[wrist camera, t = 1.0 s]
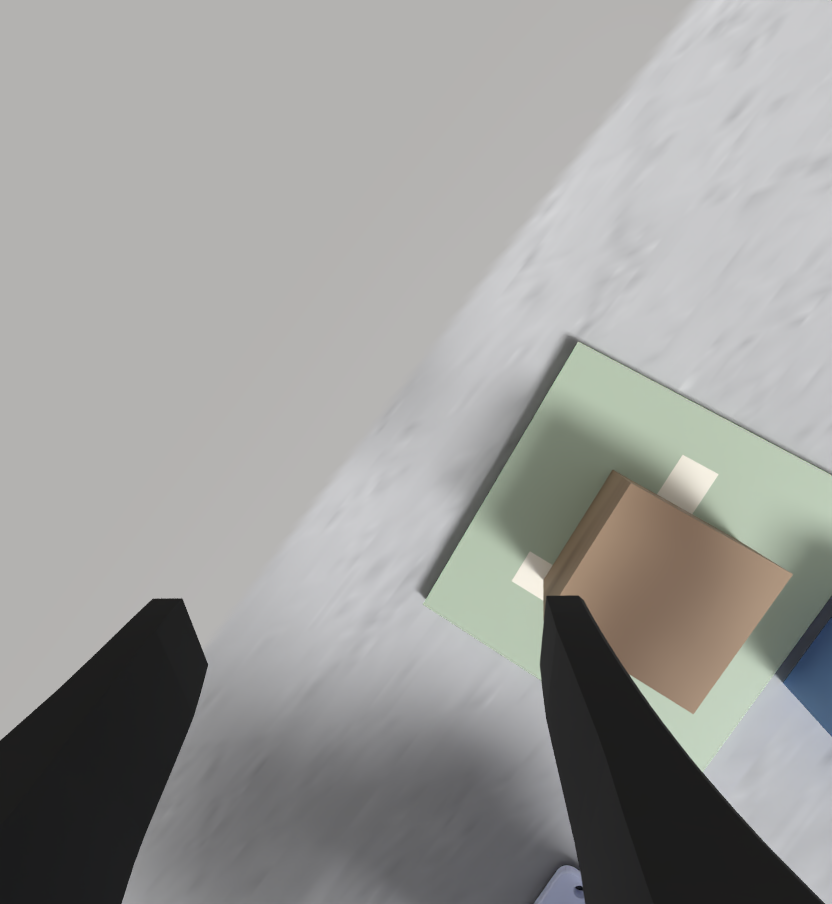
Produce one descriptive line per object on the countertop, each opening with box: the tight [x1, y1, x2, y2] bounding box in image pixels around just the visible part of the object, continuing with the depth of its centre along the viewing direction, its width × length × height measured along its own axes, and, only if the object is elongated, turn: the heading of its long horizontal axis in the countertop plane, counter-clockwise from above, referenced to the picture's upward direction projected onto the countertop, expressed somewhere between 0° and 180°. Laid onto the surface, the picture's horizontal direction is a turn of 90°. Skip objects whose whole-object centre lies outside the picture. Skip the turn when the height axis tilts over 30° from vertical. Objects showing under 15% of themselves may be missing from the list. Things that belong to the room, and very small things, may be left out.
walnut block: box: [543, 470, 793, 714], centre depth 19 cm, size 5×5×4 cm
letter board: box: [423, 342, 832, 772], centre depth 21 cm, size 12×12×1 cm
